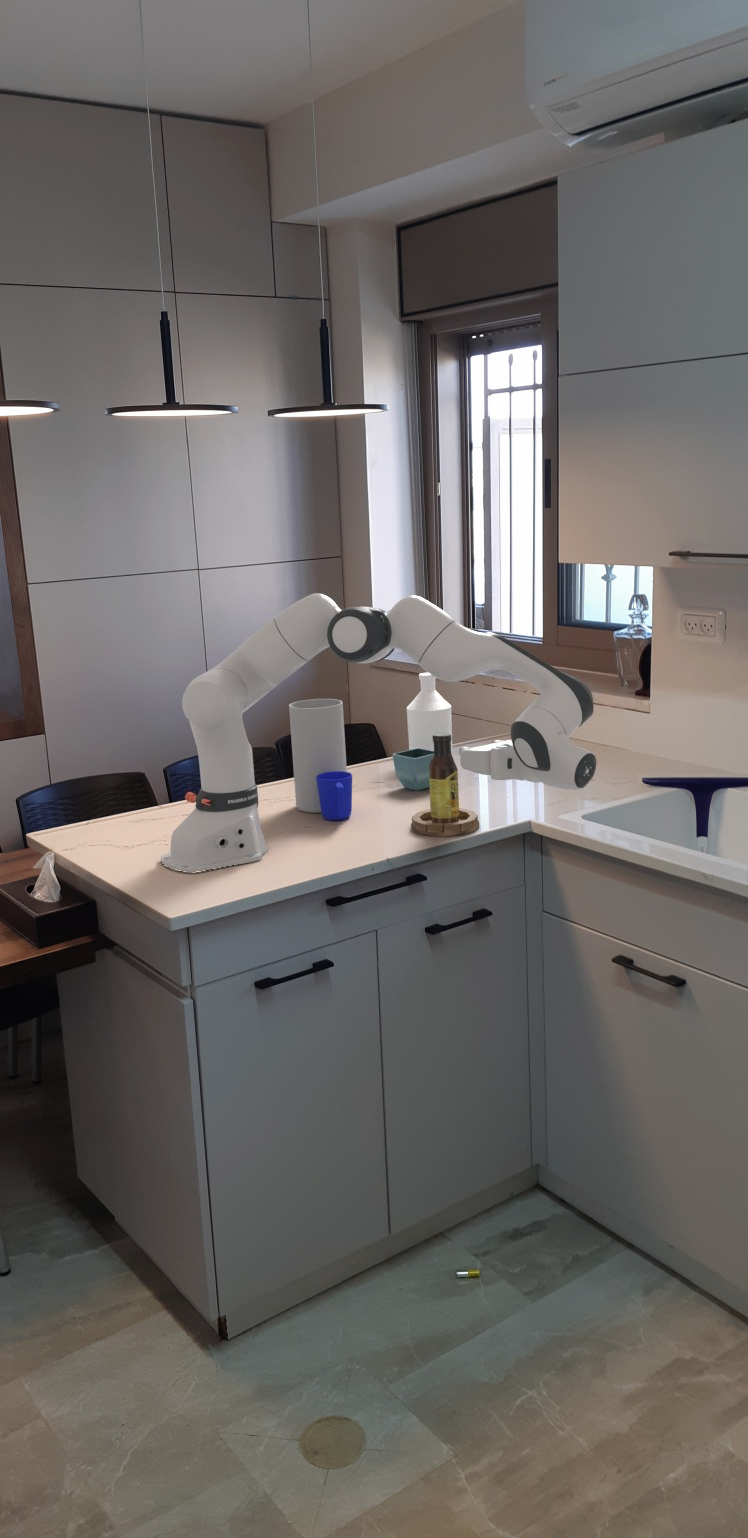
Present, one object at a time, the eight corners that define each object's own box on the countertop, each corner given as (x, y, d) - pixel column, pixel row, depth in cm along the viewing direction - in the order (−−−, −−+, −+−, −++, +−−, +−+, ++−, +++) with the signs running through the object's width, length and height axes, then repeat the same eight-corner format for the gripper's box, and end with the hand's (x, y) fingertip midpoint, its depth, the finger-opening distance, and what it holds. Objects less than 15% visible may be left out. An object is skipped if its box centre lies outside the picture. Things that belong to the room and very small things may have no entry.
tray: (442, 841, 244) (442, 830, 243) (397, 827, 255) (396, 817, 255) (493, 825, 253) (493, 815, 252) (447, 813, 264) (446, 803, 264)
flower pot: (392, 788, 290) (391, 753, 288) (419, 781, 295) (418, 747, 293) (415, 794, 283) (413, 758, 281) (442, 787, 288) (441, 752, 286)
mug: (325, 828, 258) (322, 785, 255) (316, 814, 269) (313, 773, 267) (361, 824, 259) (358, 781, 257) (351, 811, 271) (348, 769, 269)
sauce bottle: (457, 827, 250) (454, 737, 246) (429, 827, 251) (425, 737, 247) (461, 819, 256) (458, 731, 252) (433, 819, 258) (429, 731, 253)
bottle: (405, 763, 316) (401, 672, 311) (447, 759, 318) (444, 669, 312) (414, 772, 305) (410, 678, 299) (458, 768, 307) (454, 675, 301)
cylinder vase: (359, 804, 276) (353, 701, 271) (322, 816, 267) (315, 710, 262) (322, 797, 285) (315, 697, 279) (285, 809, 276) (277, 705, 270)
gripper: (562, 735, 237) (513, 725, 247) (490, 750, 224) (442, 739, 235) (561, 765, 238) (513, 754, 248) (490, 781, 226) (442, 770, 236)
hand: (478, 747), depth 241 cm, fingers open, 8 cm apart
